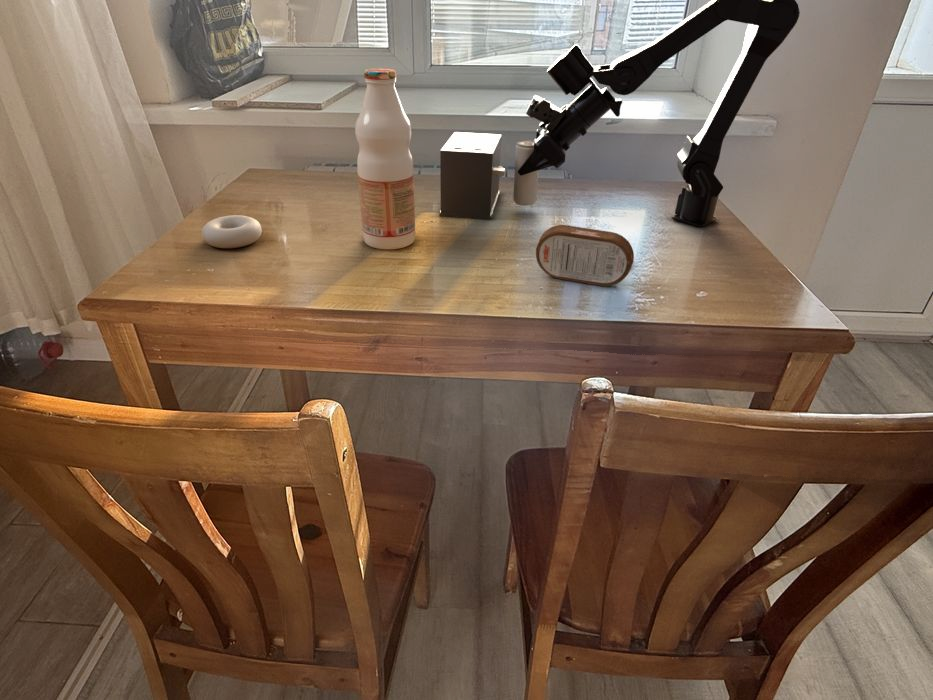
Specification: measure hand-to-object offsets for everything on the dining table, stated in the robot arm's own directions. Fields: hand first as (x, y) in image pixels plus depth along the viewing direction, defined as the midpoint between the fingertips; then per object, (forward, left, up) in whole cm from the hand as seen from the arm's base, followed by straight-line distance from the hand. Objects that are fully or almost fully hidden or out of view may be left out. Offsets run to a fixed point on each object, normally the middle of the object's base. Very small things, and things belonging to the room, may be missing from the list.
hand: (519, 170), depth 117 cm
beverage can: (-1, -1, -7) cm, 7 cm away
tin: (-30, +18, -8) cm, 36 cm away
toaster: (+8, +6, -8) cm, 13 cm away
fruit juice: (+3, +31, -8) cm, 32 cm away
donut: (+21, +52, -8) cm, 57 cm away
